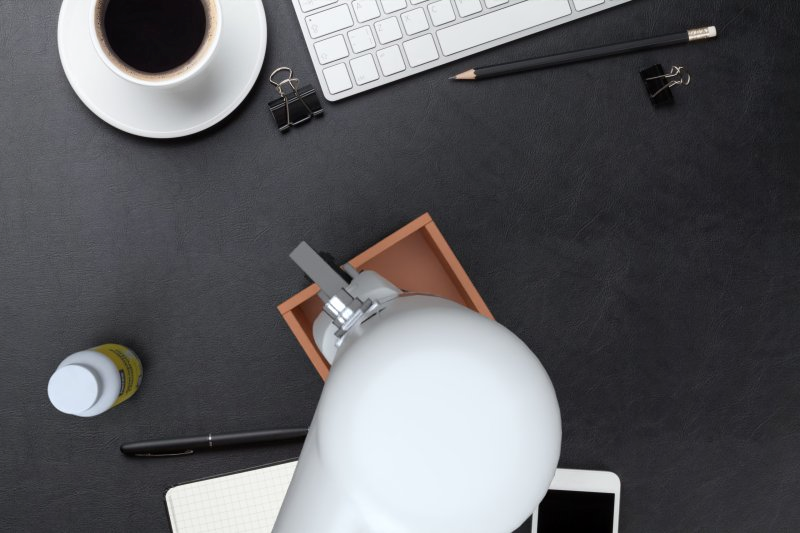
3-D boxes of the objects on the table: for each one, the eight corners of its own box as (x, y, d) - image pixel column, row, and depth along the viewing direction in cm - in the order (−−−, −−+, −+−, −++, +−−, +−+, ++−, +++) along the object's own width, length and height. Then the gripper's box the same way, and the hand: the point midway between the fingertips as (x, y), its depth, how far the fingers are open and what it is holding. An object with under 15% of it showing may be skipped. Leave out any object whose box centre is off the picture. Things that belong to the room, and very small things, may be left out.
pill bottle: (144, 401, 83) (108, 424, 71) (84, 402, 82) (37, 425, 71) (144, 341, 83) (107, 355, 71) (83, 342, 82) (37, 355, 71)
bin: (504, 349, 60) (521, 361, 53) (371, 434, 60) (372, 456, 53) (420, 217, 60) (427, 211, 53) (287, 301, 59) (276, 306, 53)
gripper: (215, 304, 33) (267, 290, 50) (498, 571, 34) (455, 467, 51) (334, 181, 33) (346, 208, 51) (613, 449, 34) (531, 386, 51)
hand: (400, 338), depth 51 cm, fingers open, 9 cm apart
